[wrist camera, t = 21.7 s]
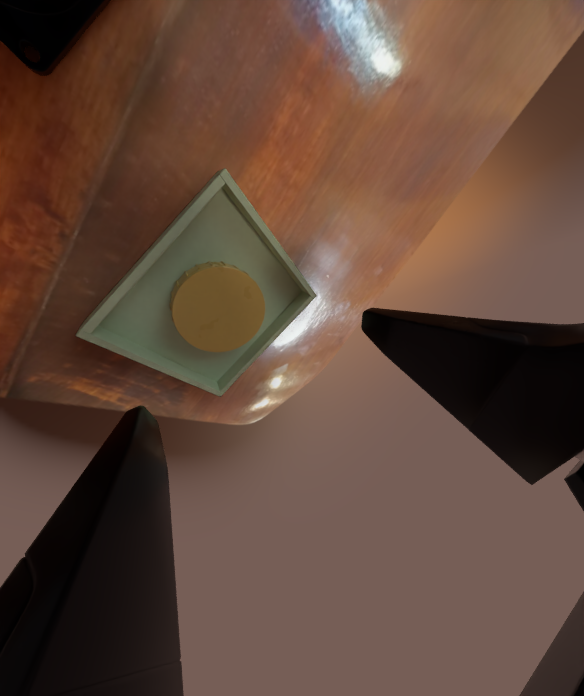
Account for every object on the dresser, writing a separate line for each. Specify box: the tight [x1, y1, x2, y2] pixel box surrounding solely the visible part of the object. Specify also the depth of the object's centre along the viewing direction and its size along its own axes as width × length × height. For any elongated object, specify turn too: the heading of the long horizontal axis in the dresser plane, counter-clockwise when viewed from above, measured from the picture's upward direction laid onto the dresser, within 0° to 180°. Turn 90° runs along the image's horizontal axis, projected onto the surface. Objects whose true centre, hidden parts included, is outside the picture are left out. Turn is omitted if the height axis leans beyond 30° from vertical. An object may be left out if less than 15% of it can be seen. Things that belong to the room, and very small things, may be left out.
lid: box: [169, 261, 265, 352], centre depth 16 cm, size 7×7×2 cm
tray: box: [76, 168, 317, 397], centre depth 17 cm, size 13×11×2 cm
